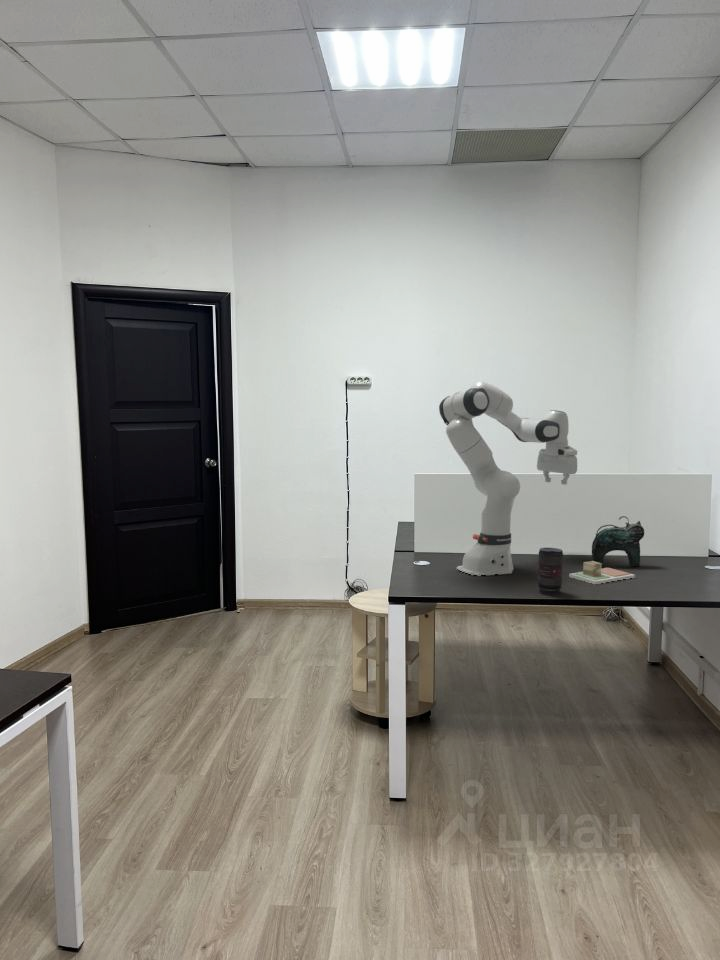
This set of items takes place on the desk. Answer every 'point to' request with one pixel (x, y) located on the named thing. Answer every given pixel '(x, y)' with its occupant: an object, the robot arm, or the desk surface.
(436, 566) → the desk surface
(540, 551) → the camera lens
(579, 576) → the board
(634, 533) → the ceramic cat
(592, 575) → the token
